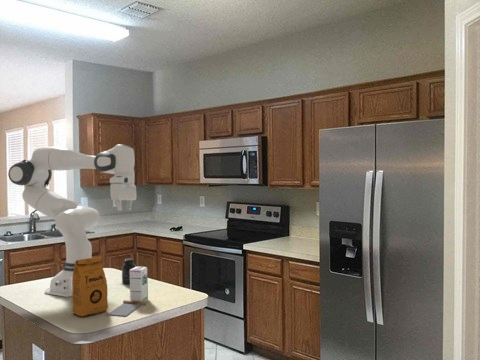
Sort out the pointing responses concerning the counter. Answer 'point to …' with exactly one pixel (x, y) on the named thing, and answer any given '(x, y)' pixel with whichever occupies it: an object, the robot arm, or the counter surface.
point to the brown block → (134, 302)
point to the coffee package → (89, 287)
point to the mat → (124, 310)
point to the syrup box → (138, 284)
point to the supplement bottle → (127, 270)
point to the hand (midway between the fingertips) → (124, 210)
